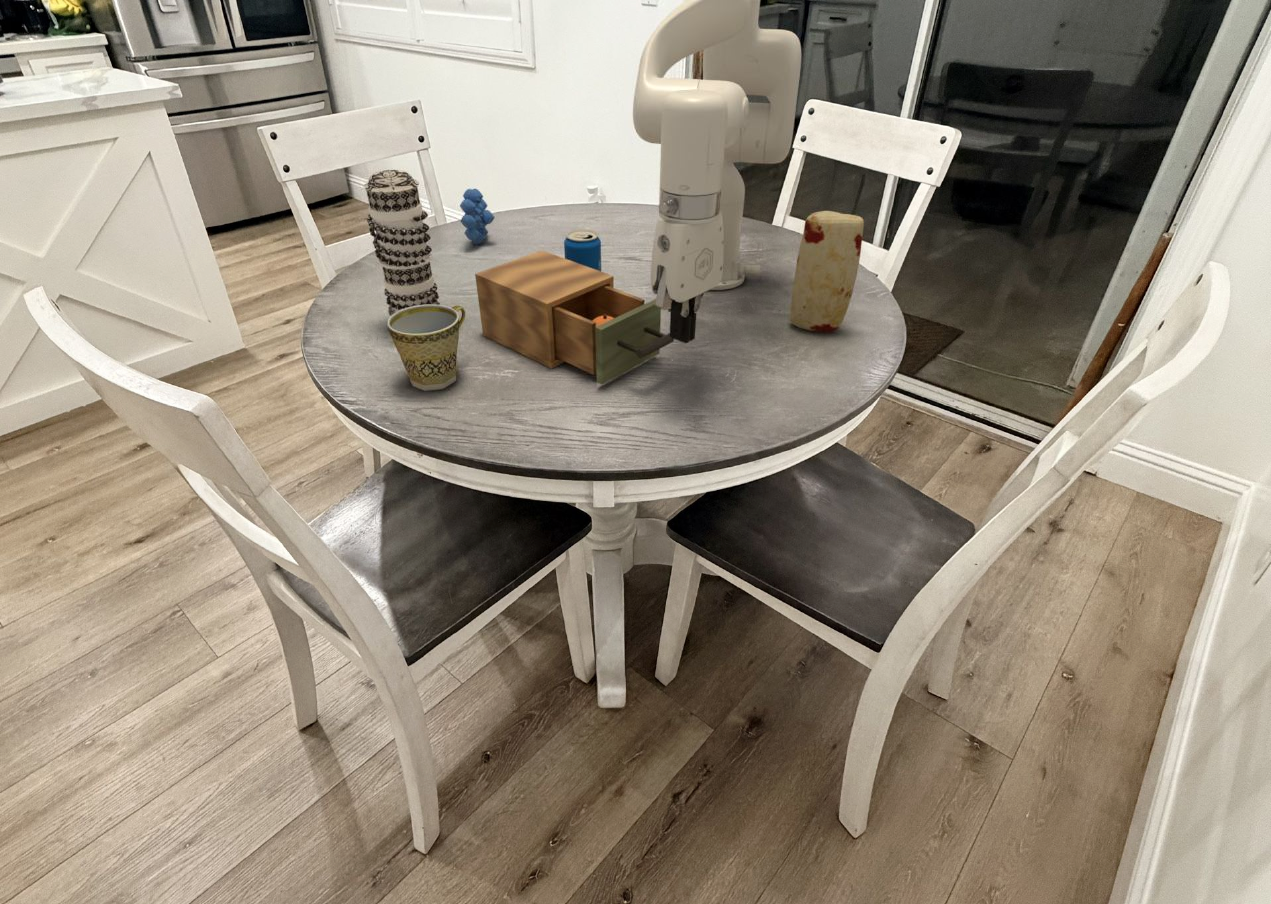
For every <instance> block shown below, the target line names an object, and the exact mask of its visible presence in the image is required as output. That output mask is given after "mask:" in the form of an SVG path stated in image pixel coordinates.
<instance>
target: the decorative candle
mask: <svg viewBox="0 0 1271 904" xmlns="http://www.w3.org/2000/svg"><path fill="white" fill-rule="evenodd" d="M419 185H420V181H419V180H417V179H414V177H413V176H412V175H411V174H410V173H409V172H407V171H405V170H400V169H386V170H379V171H377V172H374V173H372V174H371V175H370V177H369V178H368V182H366V183H364V185H363V189H365V191H366V196H367V201H368V208H367V209H368V212H369V213H368V214H367V217H366V222H367V224H368V226H369V228H368V231H369V234H370V236H372V237H373V240H372V245H373V247H374V249H375V250H374V253H375V257H376V259H377V264H379V265H380V266H381V267H382V272H383V276H384V278H383V283H384V291H383V292H384V295H385V297H386V298H385V299H386V304H387V305H388V308H387V313H388V315H389V317H390V316H391V315H393V314H394V313H396V312H397V311H399V310H402V309H405V308H408V307H412V306H417V305H425V304H436V305H441V302H440V301H438V300H439V298H440V297H439V296H440V295H439V293H438V291H437V290H438V285H437V283H436V282H435V277H434V273H433V271H432V266H431V261H432V259H433V254H432V253H431V252H432V251H433V250H432V248H431V246H429V245H428V244H427V243H428V242H429V241H430V240H431V239H432V238H431V235H430V234H429V233H427V232H428V231H429V230H430V226H429V225H428V224H427V223H425V222H424V220H426V218H428V217H429V214H428V213H427V212H426V211H425V210H423V204H422V201H421V200H420V194H419V188H418V186H419Z"/></svg>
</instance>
